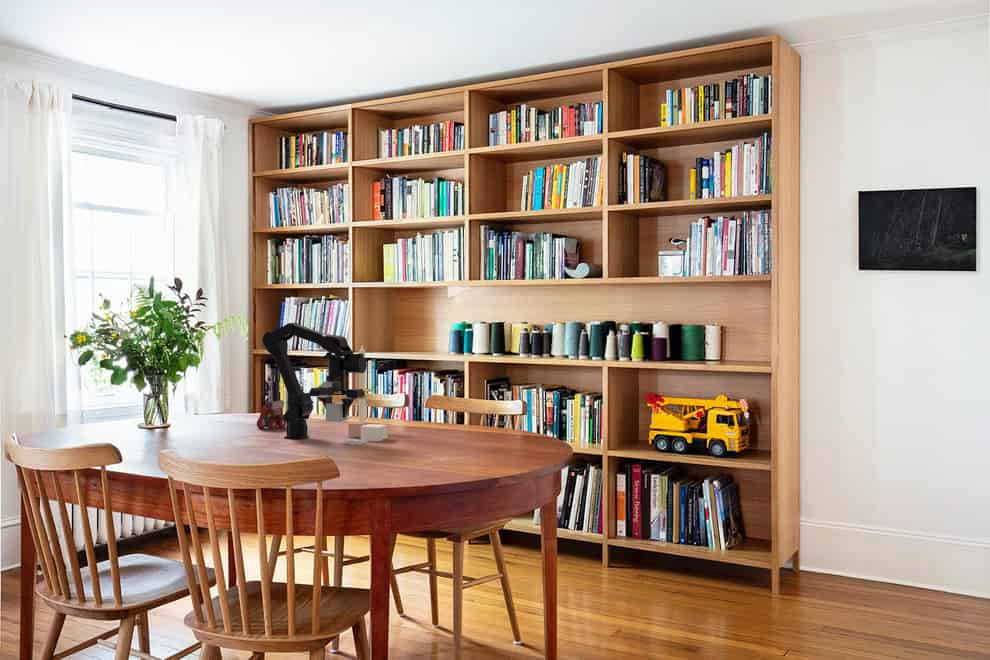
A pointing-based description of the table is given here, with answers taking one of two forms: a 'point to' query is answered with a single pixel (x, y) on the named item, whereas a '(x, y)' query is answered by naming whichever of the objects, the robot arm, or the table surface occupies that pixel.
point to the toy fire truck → (272, 415)
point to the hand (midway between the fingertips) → (336, 417)
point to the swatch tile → (355, 441)
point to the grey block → (335, 412)
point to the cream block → (373, 432)
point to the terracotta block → (355, 429)
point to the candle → (363, 399)
